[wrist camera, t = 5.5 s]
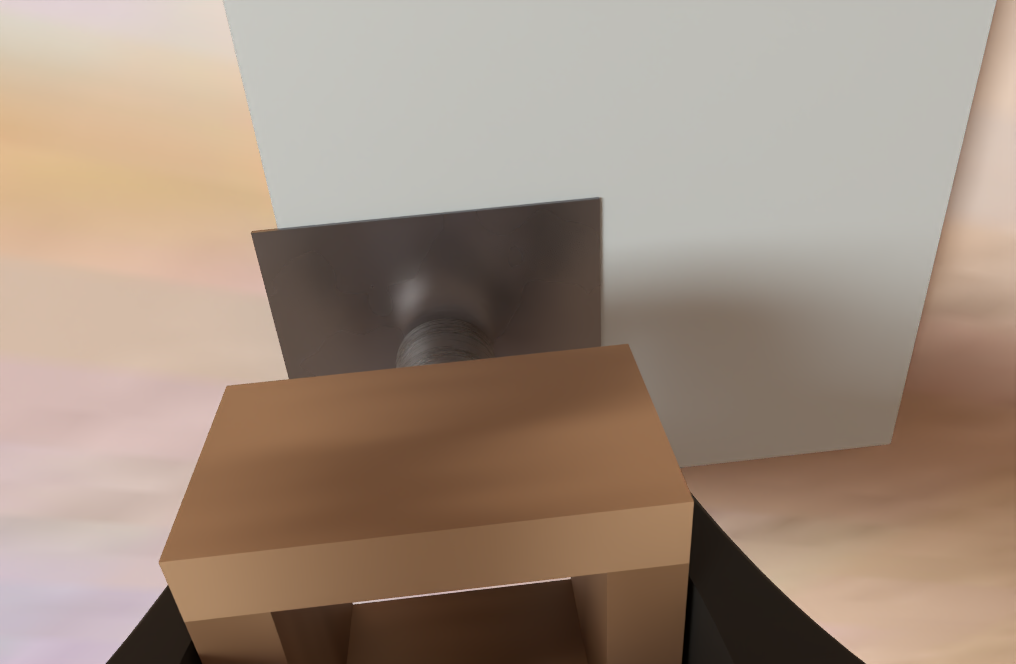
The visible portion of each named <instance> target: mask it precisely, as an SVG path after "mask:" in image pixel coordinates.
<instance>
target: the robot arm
mask: <svg viewBox="0 0 1016 664" xmlns="http://www.w3.org/2000/svg"><path fill="white" fill-rule="evenodd" d="M690 493H691V492H690ZM691 496H692V498H693V500H694V508H693V521H692V534H691V547H690V560H689V573H688V586H687V599H686V613H685V626H684V639H683V652H682V664H866V663H864V662H863V661H862V660H860V659H859V658H858V657H857V656H855V655H854V654H853V653H851V652H850V651H849V650H848V649H846V648H845V647H844V646H843V645H842V644H840V643H839V642H838V641H837V640H836V639H834V638H833V637H832V636H831V635H830V634H828V633H827V632H826V631H825V630H824V629H823V628H821V627H820V626H819V625H818V624H817V623H816V622H814V621H813V620H812V619H811V618H810V617H809V616H808V615H807V614H806V613H804V612H803V611H802V610H801V609H800V608H799V607H798V606H797V605H796V604H795V603H793V602H792V601H791V600H790V599H789V598H788V597H787V596H786V595H785V594H784V593H783V592H782V591H781V590H780V589H779V588H778V587H777V586H776V585H775V584H774V583H773V582H771V580H770V579H769V578H768V577H767V576H766V575H765V574H764V573H763V572H762V571H761V570H760V569H759V568H758V567H757V566H756V565H755V564H754V563H753V562H752V561H751V560H750V559H749V558H748V557H747V556H746V555H745V554H744V553H743V552H742V551H741V549H740V548H739V547H738V546H737V545H736V544H735V543H734V542H733V541H732V540H731V539H730V538H729V537H728V536H727V534H726V533H725V532H724V531H723V530H722V529H721V528H720V527H719V525H718V524H717V523H716V522H715V521H714V520H713V518H712V517H711V516H710V515H709V514H708V513H707V511H706V510H705V509H704V508H703V507H702V506H701V504H700V503H699V502H698V501H697V500H696V498H695V497H694V496H693V495H692V493H691ZM106 664H202V662H201V659H200V657H199V655H198V652H197V650H196V648H195V646H194V643H193V641H192V639H191V636H190V634H189V632H188V629H187V627H186V625H185V622H184V620H183V618H182V615H181V613H180V611H179V609H178V606H177V604H176V602H175V599H174V597H173V595H172V592H171V590H170V588H169V585H168V586H167V587H166V588H165V590H164V591H163V592H162V594H161V595H160V596H159V598H158V599H157V600H156V601H155V603H154V604H153V605H152V607H151V608H150V609H149V611H148V612H147V613H146V614H145V616H144V617H143V618H142V620H141V621H140V622H139V624H138V625H137V626H136V627H135V629H134V630H133V631H132V633H131V634H130V635H129V636H128V638H127V639H126V640H125V641H124V642H123V644H122V645H121V646H120V647H119V648H118V650H117V651H116V652H115V653H114V654H113V656H112V657H111V658H110V659H109V660H108V662H107V663H106Z"/></svg>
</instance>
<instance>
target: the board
mask: <svg viewBox="0 0 1016 664" xmlns="http://www.w3.org/2000/svg"><path fill="white" fill-rule="evenodd" d="M996 1H997V0H223V3H224V7H225V11H226V15H227V19H228V24H229V28H230V32H231V36H232V40H233V44H234V48H235V53H236V57H237V61H238V65H239V69H240V73H241V78H242V82H243V86H244V90H245V94H246V98H247V102H248V107H249V111H250V115H251V119H252V123H253V127H254V131H255V136H256V140H257V144H258V148H259V152H260V156H261V161H262V165H263V169H264V173H265V177H266V181H267V185H268V190H269V194H270V198H271V202H272V206H273V210H274V215H275V219H276V223H277V227H278V228H288V227H298V226H308V225H319V224H329V223H339V222H349V221H359V220H369V219H380V218H390V217H400V216H410V215H420V214H430V213H441V212H451V211H461V210H471V209H481V208H491V207H502V206H512V205H522V204H532V203H542V202H552V201H563V200H573V199H583V198H593V197H599V198H600V278H601V346H611V345H620V344H629V347H630V349H631V352H632V354H633V356H634V359H635V361H636V364H637V366H638V368H639V371H640V373H641V376H642V378H643V380H644V383H645V385H646V388H647V390H648V392H649V395H650V397H651V400H652V402H653V404H654V407H655V409H656V412H657V414H658V416H659V419H660V421H661V424H662V426H663V428H664V431H665V433H666V436H667V438H668V440H669V443H670V445H671V448H672V450H673V452H674V455H675V457H676V460H677V462H678V464H679V467H680V468H684V467H692V466H701V465H710V464H719V463H728V462H737V461H746V460H754V459H763V458H772V457H781V456H790V455H799V454H808V453H816V452H825V451H834V450H843V449H852V448H861V447H870V446H879V445H887V444H891V440H892V436H893V432H894V427H895V423H896V419H897V415H898V411H899V407H900V402H901V398H902V394H903V390H904V386H905V381H906V377H907V373H908V369H909V365H910V361H911V356H912V352H913V348H914V344H915V340H916V335H917V331H918V327H919V323H920V319H921V315H922V310H923V306H924V302H925V298H926V294H927V289H928V285H929V281H930V277H931V273H932V269H933V264H934V260H935V256H936V252H937V248H938V243H939V239H940V235H941V231H942V227H943V223H944V218H945V214H946V210H947V206H948V202H949V197H950V193H951V189H952V185H953V181H954V177H955V172H956V168H957V164H958V160H959V156H960V151H961V147H962V143H963V139H964V135H965V130H966V126H967V122H968V118H969V114H970V110H971V105H972V101H973V97H974V93H975V89H976V84H977V80H978V76H979V72H980V68H981V64H982V59H983V55H984V51H985V47H986V43H987V38H988V34H989V30H990V26H991V22H992V18H993V13H994V9H995V5H996Z"/></svg>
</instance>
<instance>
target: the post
mask: <svg viewBox="0 0 1016 664" xmlns="http://www.w3.org/2000/svg"><path fill="white" fill-rule="evenodd" d="M251 235H252V239H253V243H254V247H255V250H256V254H257V258H258V262H259V266H260V270H261V273H262V277H263V281H264V285H265V289H266V293H267V296H268V300H269V304H270V308H271V312H272V316H273V319H274V323H275V327H276V331H277V335H278V338H279V342H280V346H281V350H282V354H283V358H284V361H285V365H286V369H287V373H288V377H289V379H297V378H307V377H316V376H326V375H335V374H345V373H354V372H364V371H373V370H383V369H392V368H402V367H411V366H421V365H430V364H440V363H449V362H459V361H468V360H478V359H487V358H497V357H506V356H516V355H525V354H535V353H544V352H554V351H563V350H573V349H582V348H592V347H601V278H600V198H599V197H593V198H583V199H573V200H563V201H552V202H542V203H532V204H522V205H512V206H502V207H491V208H481V209H471V210H461V211H451V212H441V213H430V214H420V215H410V216H400V217H390V218H380V219H369V220H359V221H349V222H339V223H329V224H319V225H308V226H298V227H288V228H278V229H268V230H258V231H252V232H251Z"/></svg>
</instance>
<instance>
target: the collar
mask: <svg viewBox="0 0 1016 664" xmlns="http://www.w3.org/2000/svg"><path fill="white" fill-rule="evenodd" d="M693 508H694V500H693V498H692V496H691V493H690V491H689V488H688V486H687V484H686V481H685V479H684V476H683V474H682V472H681V469H680V467H679V464H678V462H677V460H676V457H675V455H674V452H673V450H672V448H671V445H670V443H669V440H668V438H667V436H666V433H665V431H664V428H663V426H662V424H661V421H660V419H659V416H658V414H657V412H656V409H655V407H654V404H653V402H652V400H651V397H650V395H649V392H648V390H647V388H646V385H645V383H644V380H643V378H642V376H641V373H640V371H639V368H638V366H637V364H636V361H635V359H634V356H633V354H632V352H631V349H630V347H629V344H620V345H611V346H601V347H592V348H582V349H573V350H563V351H554V352H544V353H535V354H525V355H516V356H506V357H497V358H487V359H478V360H468V361H459V362H449V363H440V364H430V365H421V366H411V367H402V368H392V369H383V370H373V371H364V372H354V373H345V374H335V375H326V376H316V377H307V378H297V379H288V380H278V381H269V382H259V383H250V384H240V385H231V386H227V387H226V389H225V392H224V394H223V397H222V400H221V402H220V405H219V407H218V410H217V413H216V415H215V418H214V420H213V423H212V426H211V428H210V431H209V433H208V436H207V438H206V441H205V444H204V446H203V449H202V451H201V454H200V457H199V459H198V462H197V464H196V467H195V470H194V472H193V475H192V477H191V480H190V482H189V485H188V488H187V490H186V493H185V495H184V498H183V501H182V503H181V506H180V508H179V511H178V514H177V516H176V519H175V521H174V524H173V526H172V529H171V532H170V534H169V537H168V539H167V542H166V545H165V547H164V550H163V552H162V555H161V558H160V560H159V565H160V567H161V569H162V571H163V574H164V576H165V578H166V581H167V583H168V585H169V588H170V590H171V592H172V595H173V597H174V599H175V602H176V604H177V606H178V609H179V611H180V613H181V615H182V618H183V620H184V622H185V625H186V627H187V629H188V632H189V634H190V636H191V639H192V641H193V643H194V646H195V648H196V650H197V652H198V655H199V657H200V659H201V662H202V664H682V652H683V639H684V626H685V613H686V599H687V586H688V573H689V560H690V547H691V534H692V521H693ZM566 577H571V579H568V580H560V581H551V582H543V583H534V584H525V585H517V586H508V587H500V588H491V589H483V590H474V591H466V592H457V593H448V594H440V595H431V596H423V597H414V598H406V599H397V600H389V601H380V602H372V603H363V604H354V605H353V604H352V602H361V601H369V600H378V599H386V598H395V597H403V596H412V595H420V594H429V593H438V592H446V591H455V590H463V589H472V588H480V587H489V586H497V585H506V584H515V583H523V582H532V581H540V580H549V579H557V578H566Z"/></svg>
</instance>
